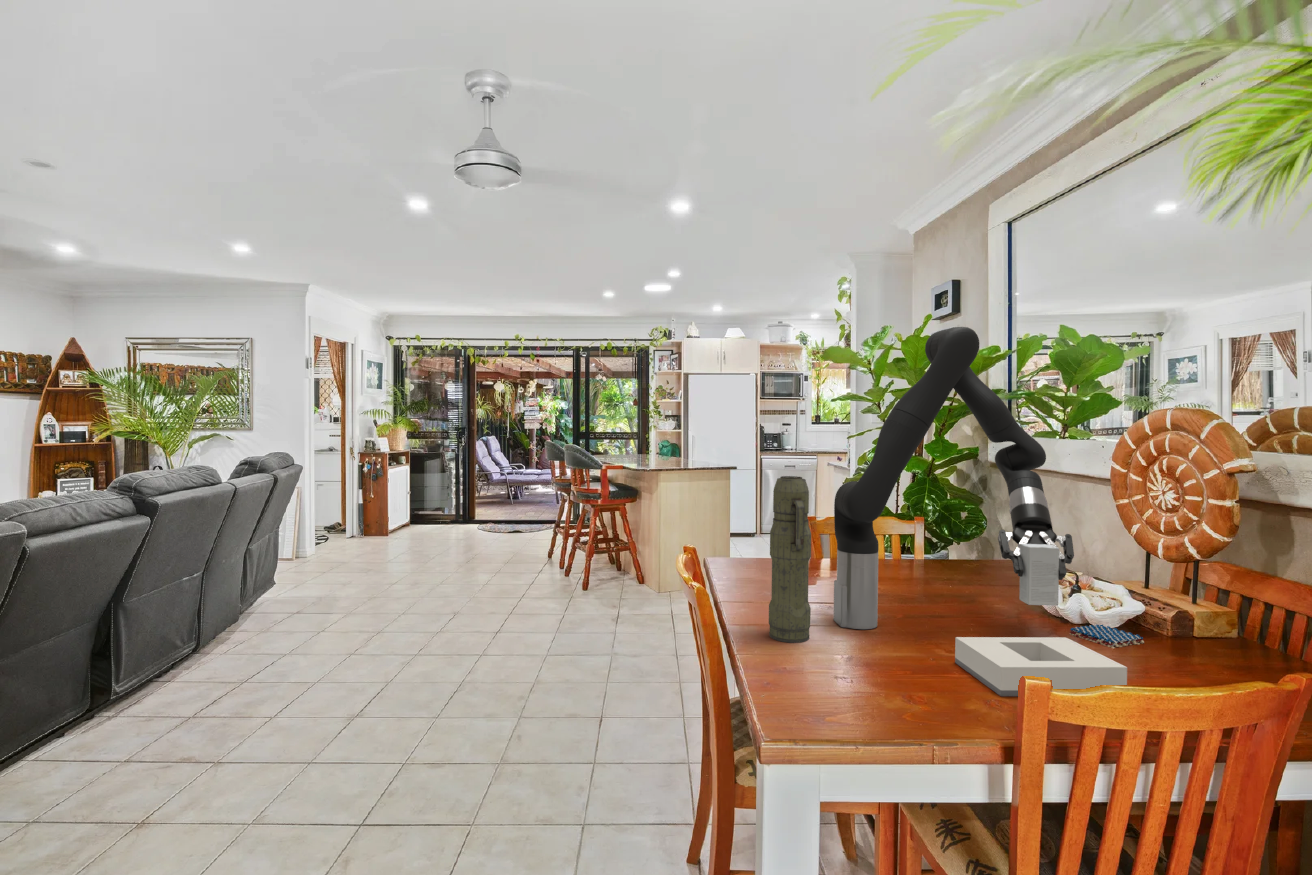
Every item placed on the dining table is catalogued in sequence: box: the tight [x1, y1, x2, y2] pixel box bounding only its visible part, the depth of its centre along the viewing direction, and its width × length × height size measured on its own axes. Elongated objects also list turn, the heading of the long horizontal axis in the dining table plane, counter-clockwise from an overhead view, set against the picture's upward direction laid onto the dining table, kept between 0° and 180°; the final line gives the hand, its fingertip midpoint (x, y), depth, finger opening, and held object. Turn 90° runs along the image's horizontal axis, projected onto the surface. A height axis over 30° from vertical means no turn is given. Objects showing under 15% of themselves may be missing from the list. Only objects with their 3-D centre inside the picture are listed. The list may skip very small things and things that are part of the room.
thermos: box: [768, 475, 812, 644], centre depth 142 cm, size 9×12×35 cm
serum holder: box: [954, 636, 1128, 697], centre depth 119 cm, size 22×16×5 cm
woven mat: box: [1068, 623, 1145, 649], centre depth 143 cm, size 10×11×2 cm
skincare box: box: [1019, 544, 1060, 607], centre depth 134 cm, size 6×4×12 cm
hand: (1040, 575), depth 133 cm, fingers closed on skincare box, 6 cm apart
